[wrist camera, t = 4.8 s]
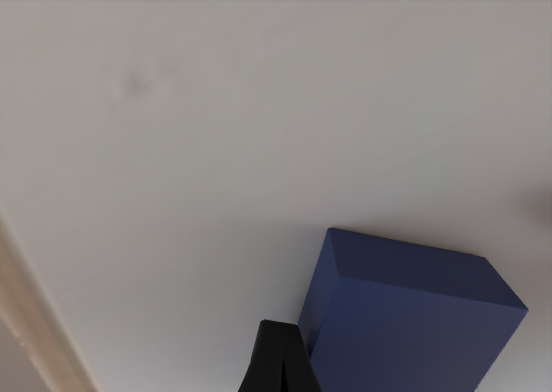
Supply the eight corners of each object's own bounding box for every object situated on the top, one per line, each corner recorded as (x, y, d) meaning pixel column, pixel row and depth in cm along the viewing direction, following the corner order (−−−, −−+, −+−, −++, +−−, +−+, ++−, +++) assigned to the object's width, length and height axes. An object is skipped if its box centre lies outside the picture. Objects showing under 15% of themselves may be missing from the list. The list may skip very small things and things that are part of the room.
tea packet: (401, 406, 16) (421, 470, 14) (277, 386, 15) (276, 449, 13) (485, 256, 12) (530, 310, 10) (328, 226, 12) (338, 275, 10)
